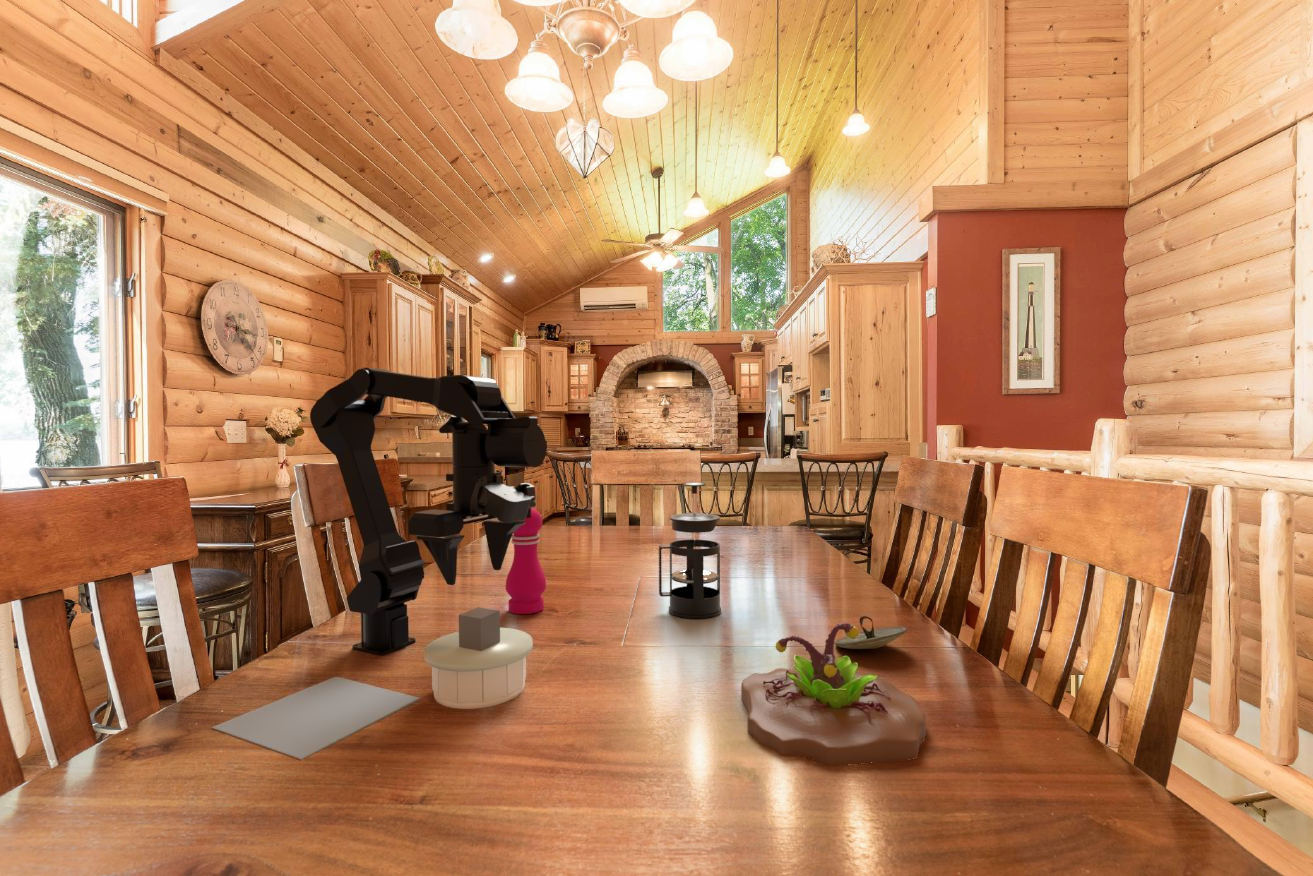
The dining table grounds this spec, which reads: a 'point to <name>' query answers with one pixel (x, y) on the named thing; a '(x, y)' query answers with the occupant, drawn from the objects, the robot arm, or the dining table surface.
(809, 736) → the plant
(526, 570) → the pepper mill
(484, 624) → the cover
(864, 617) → the lid
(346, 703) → the mat
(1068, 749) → the dining table surface
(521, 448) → the robot arm
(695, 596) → the french press
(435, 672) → the bowl
